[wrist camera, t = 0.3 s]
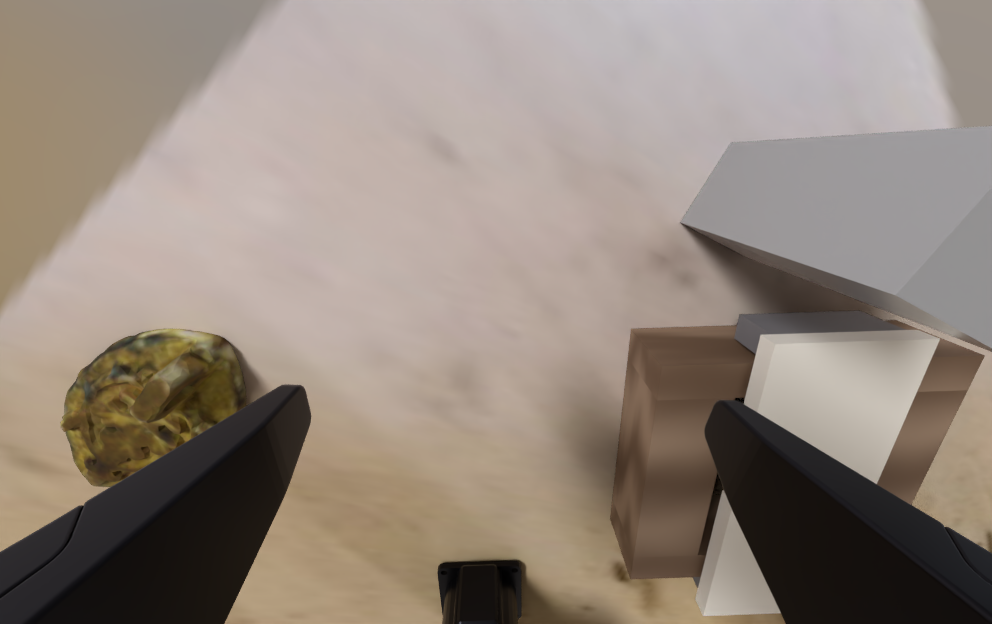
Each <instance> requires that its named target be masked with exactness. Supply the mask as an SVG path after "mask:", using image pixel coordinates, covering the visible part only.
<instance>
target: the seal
mask: <svg viewBox="0 0 992 624" xmlns="http://www.w3.org/2000/svg"><path fill="white" fill-rule="evenodd" d="M244 407H246V390H245V383H244V380H243V375H242V371H241V368H240V365H239V363H238V360H237V358H236V355H235V353H234V351H233V349H232V347H231V345H230V344H229V342H228V341H227V340H226V339H224V338H222V337H220V336H218V335H214V334H209V333H204V332H199V331H191V330H184V329H159V330H153V331H147V332H142V333H139V334H137V335H135V336H128V337H126V338H123V339H121V340H119V341H117V342H115V343H114V344H112V345H111V346H110V347H109V348H107V349H106V350H105V352H103V353H102V354H100V355H99V356H98V357H97V358H96V359H95V360H94V361H93V362H92V363H91V364H89V365H88V366H86V367H85V368H83V369H82V370H81V371H80V372H79V374H78V377H77V379H76V382H75V383H74V384H73V385H72V386H71V387H70V389H69V390H68V392H67V395H66V399H65V404H64V416H63V417H62V418H63V420H62V421H61V428H62V430H63V431H64V432H66V436H67V438H68V441H69V443H70V446H71V451H72V455H73V459H74V462H75V464H76V466H77V467H78V469H79V470H80V472H81V473H82V475H83V476H84V477H85V478H86V479H87V480H88V481H89V483H90V484H91V485H93V486H98V487H111V486H113V485H115V484H117V483H118V482H120V481H122V480H123V479H125V478H127V477H128V476H130V475H132V474H133V473H135V472H137V471H138V470H140V469H142V468H143V467H145V466H147V465H148V464H150V463H152V462H153V461H155V460H157V459H158V458H160V457H162V456H163V455H165V454H167V453H169V452H170V451H172V450H174V449H175V448H177V447H179V446H180V445H182V444H184V443H185V442H187V441H189V440H190V439H192V438H194V437H195V436H197V435H199V434H200V433H202V432H204V431H205V430H207V429H209V428H210V427H212V426H214V425H215V424H217V423H219V422H220V421H222V420H224V419H225V418H227V417H229V416H230V415H232V414H234V413H236V412H237V411H239V410H241V409H242V408H244Z"/></svg>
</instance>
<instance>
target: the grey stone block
mask: <svg viewBox="0 0 992 624" xmlns="http://www.w3.org/2000/svg"><path fill="white" fill-rule="evenodd" d="M680 223H682V224H684V225H686V226H688V227H690V228H692V229H694V230H695V231H697V232H699V233H701V234H703V235H705V236H707V237H709V238H711V239H712V240H714V241H716V242H718V243H720V244H722V245H724V246H726V247H728V248H730V249H731V250H733V251H735V252H737V253H739V254H741V255H743V256H745V257H747V258H750V259H753V260H755V261H758V262H760V263H763V264H766V265H768V266H771V267H773V268H776V269H779V270H781V271H784V272H786V273H789V274H792V275H794V276H797V277H799V278H802V279H805V280H807V281H810V282H812V283H815V284H817V285H820V286H823V287H825V288H828V289H830V290H833V291H836V292H838V293H841V294H843V295H846V296H849V297H851V298H854V299H856V300H859V301H862V302H864V303H867V304H869V305H872V306H875V307H877V308H880V309H882V310H885V311H888V312H890V313H893V314H895V315H898V316H900V317H903V318H906V319H908V320H911V321H913V322H916V323H919V324H921V325H924V326H926V327H929V328H932V329H934V330H937V331H939V332H942V333H945V334H947V335H950V336H952V337H955V338H958V339H960V340H963V341H965V342H968V343H970V344H973V345H976V346H978V347H981V348H983V349H986V350H989V351H991V352H992V126H985V127H984V126H983V127H967V128H951V129H936V130H920V131H904V132H889V133H873V134H857V135H842V136H826V137H810V138H795V139H779V140H763V141H748V142H732V143H730V145H729V147H728V148H727V150H726V151H725V153H724V154H723V156H722V158H721V159H720V161H719V162H718V164H717V165H716V167H715V169H714V170H713V172H712V173H711V175H710V176H709V178H708V180H707V181H706V183H705V184H704V186H703V187H702V189H701V190H700V192H699V194H698V195H697V197H696V198H695V200H694V201H693V203H692V205H691V206H690V208H689V209H688V211H687V212H686V214H685V216H684V217H683V219H682V220H681V222H680Z"/></svg>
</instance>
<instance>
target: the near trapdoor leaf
mask: <svg viewBox="0 0 992 624" xmlns="http://www.w3.org/2000/svg"><path fill="white" fill-rule="evenodd" d="M734 339H736V340H737V341H739V342H740V343H741V344H743V345H744V346H745V347H747V348H748V349H749V350H751V351H752V352H753V353H755V354H756V356H755V360H754V364H753V368H752V372H751V376H750V380H749V384H748V388H747V392H746V396H745V400H744V405H746V406H748V407H749V408H751V409H753V410H754V411H756V412H758V413H759V414H761V415H763V416H764V417H766V418H768V419H769V420H771V421H773V422H774V423H776V424H778V425H779V426H781V427H783V428H784V429H786V430H787V431H789V432H791V433H792V434H794V435H796V436H797V437H799V438H801V439H802V440H804V441H806V442H807V443H809V444H811V445H812V446H814V447H816V448H817V449H819V450H821V451H822V452H824V453H826V454H827V455H829V456H831V457H832V458H834V459H836V460H837V461H839V462H841V463H842V464H844V465H846V466H847V467H849V468H851V469H852V470H854V471H856V472H857V473H859V474H861V475H862V476H864V477H866V478H867V479H869V480H871V481H872V482H874V483H876V484H877V482H878V480H879V478H880V476H881V473H882V471H883V469H884V466H885V464H886V462H887V460H888V457H889V455H890V453H891V450H892V448H893V446H894V443H895V441H896V439H897V437H898V434H899V432H900V430H901V427H902V425H903V423H904V421H905V418H906V416H907V414H908V411H909V409H910V407H911V404H912V402H913V400H914V398H915V395H916V393H917V391H918V388H919V386H920V384H921V382H922V379H923V377H924V375H925V372H926V370H927V368H928V366H929V363H930V361H931V359H932V356H933V354H934V352H935V349H936V347H937V345H938V343H939V340H940V339H939V338H937V337H934V336H932V335H929V334H927V333H924V332H922V331H919V330H906V329H903V328H901V327H898V326H896V325H893V324H891V323H888V322H886V321H884V320H881V319H879V318H876V317H874V316H871V315H869V314H867V313H864V312H862V311H832V312H801V313H769V314H739V319H738V323H737V328H736V332H735V337H734Z"/></svg>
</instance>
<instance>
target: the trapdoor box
mask: <svg viewBox="0 0 992 624" xmlns="http://www.w3.org/2000/svg"><path fill="white" fill-rule="evenodd" d="M886 322H888V323H891V324H893V325H896V326H898V327H901V328H903V329H906V330H919V329H917V328H914V327H912V326H909V325H907V324H904V323H902V322H899V321H897V320H891V321H886ZM736 328H737V325H735V326H703V327H672V328H641V329H631V335H630V344H629V353H628V362H627V371H626V380H625V389H624V398H623V408H622V417H621V426H620V435H619V444H618V453H617V462H616V471H615V480H614V489H613V498H612V507H611V516H610V519H611V522H612V525H613V528H614V531H615V534H616V537H617V540H618V543H619V546H620V549H621V552H622V555H623V558H624V561H625V564H626V567H627V570H628V573H629V576H630V579H653V578H681V577H701V574H702V570H703V566H704V562H705V558H706V554H707V550H708V546H709V542H710V538H711V534H712V530H713V526H714V522H715V518H716V514H717V510H718V506H719V502H720V498H721V495H712V493H713V489H714V484H715V480H716V476H717V469H716V467H715V464H714V461H713V458H712V456H711V453H710V450H709V447H708V444H707V442H706V439H705V434H704V429H705V425H706V422H707V420H708V418H709V415H710V413H711V411H712V408H713V406H714V404H715V403H716V402H717V401H718V400H735V398H745V396H746V392H747V388H748V384H749V380H750V376H751V372H752V368H753V364H754V360H755V356H756V354H755V353H753V352H752V351H751V350H749V349H748V348H747V347H745V346H744V345H743V344H741V343H740V342H739V341H737V340H736V339H734V337H735V332H736ZM919 331H922V330H919ZM922 332H924V331H922ZM924 333H927V332H924ZM927 334H929V333H927ZM929 335H932V334H929ZM932 336H934V335H932ZM934 337H937V336H934ZM937 338H939V337H937ZM939 339H940V340H939V343H938V345H937V347H936V349H935V352H934V354H933V356H932V359H931V361H930V363H929V366H928V368H927V370H926V372H925V375H924V377H923V379H922V382H921V384H920V386H919V388H918V391H917V393H916V395H915V398H914V400H913V402H912V404H911V407H910V409H909V411H908V414H907V416H906V418H905V421H904V423H903V425H902V427H901V430H900V432H899V434H898V437H897V439H896V441H895V443H894V446H893V448H892V450H891V453H890V455H889V457H888V460H887V462H886V464H885V466H884V469H883V471H882V473H881V476H880V478H879V480H878V482H877V485H879V486H881V487H882V488H884V489H886V490H887V491H889V492H891V493H892V494H894V495H896V496H897V497H899V498H901V499H902V500H904V501H906V502H907V503H909V504H910V505H911V504H912V502H913V500H914V498H915V496H916V494H917V492H918V490H919V488H920V486H921V484H922V482H923V480H924V478H925V476H926V474H927V472H928V470H929V468H930V466H931V464H932V462H933V460H934V457H935V455H936V453H937V451H938V449H939V447H940V445H941V443H942V441H943V439H944V437H945V435H946V433H947V431H948V429H949V427H950V425H951V423H952V421H953V419H954V417H955V415H956V413H957V411H958V409H959V407H960V405H961V403H962V401H963V399H964V397H965V395H966V393H967V391H968V389H969V387H970V385H971V383H972V381H973V379H974V376H975V374H976V372H977V370H978V368H979V366H980V364H981V362H982V360H983V358H984V355H982V354H979V353H977V352H974V351H972V350H969V349H967V348H964V347H962V346H959V345H957V344H954V343H952V342H949V341H947V340H944V339H942V338H939Z"/></svg>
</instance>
